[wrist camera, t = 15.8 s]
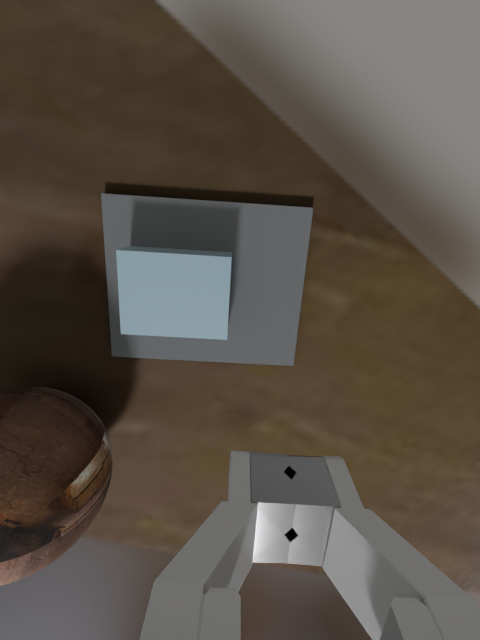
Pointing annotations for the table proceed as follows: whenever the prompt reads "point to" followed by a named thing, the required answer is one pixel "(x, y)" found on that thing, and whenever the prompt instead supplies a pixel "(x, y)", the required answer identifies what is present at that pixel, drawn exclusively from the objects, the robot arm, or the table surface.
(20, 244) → the table surface
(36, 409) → the wooden sphere
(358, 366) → the table surface
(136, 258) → the block
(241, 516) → the robot arm
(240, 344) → the mat
